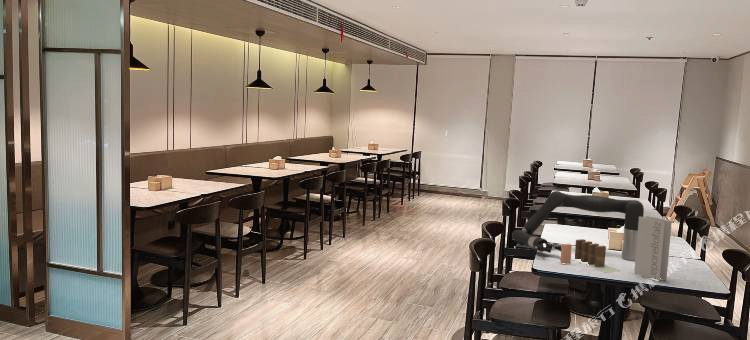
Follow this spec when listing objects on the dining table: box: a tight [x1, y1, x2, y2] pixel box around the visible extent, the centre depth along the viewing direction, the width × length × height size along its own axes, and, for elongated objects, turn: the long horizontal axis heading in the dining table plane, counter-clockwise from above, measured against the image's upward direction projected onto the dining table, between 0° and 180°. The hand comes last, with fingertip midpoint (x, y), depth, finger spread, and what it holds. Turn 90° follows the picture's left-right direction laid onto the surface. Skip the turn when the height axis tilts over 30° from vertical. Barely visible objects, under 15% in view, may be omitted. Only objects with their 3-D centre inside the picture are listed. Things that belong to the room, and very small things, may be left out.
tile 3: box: [581, 240, 593, 262], centre depth 308 cm, size 2×5×11 cm, turn 112°
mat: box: [588, 264, 622, 273], centre depth 307 cm, size 36×11×1 cm, turn 22°
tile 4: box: [588, 243, 600, 265], centre depth 303 cm, size 2×5×11 cm, turn 112°
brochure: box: [633, 215, 673, 282], centre depth 282 cm, size 14×6×30 cm, turn 27°
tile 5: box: [594, 245, 607, 267], centre depth 299 cm, size 2×5×11 cm, turn 112°
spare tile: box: [560, 243, 573, 264], centre depth 303 cm, size 2×5×11 cm, turn 112°
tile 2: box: [574, 238, 587, 259], centre depth 313 cm, size 2×5×11 cm, turn 112°
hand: (556, 250), depth 310 cm, fingers open, 8 cm apart
